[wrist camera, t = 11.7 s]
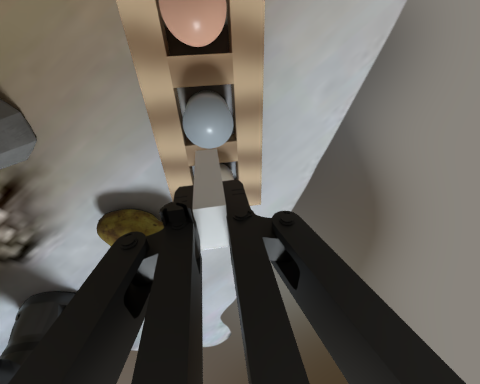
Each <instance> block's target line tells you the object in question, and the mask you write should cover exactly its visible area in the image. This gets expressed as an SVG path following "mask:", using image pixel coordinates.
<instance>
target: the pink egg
mask: <svg viewBox="0 0 480 384" xmlns="http://www.w3.org/2000/svg"><path fill="white" fill-rule="evenodd" d="M159 7H160V11H161V14H162V17H163V20H164V22H165V24H166V26H167V27H168V29H169V30H170V32H171V33H172V34H173V35H174V36H175V37H176V38H177V39H178V40H180V41H181V42H183V43H185V44H187V45H190V46H194V47H203V46H206V45H208V44H210V43H211V42H212V41H214V40H215V39H216V38H217V37H218V35H219V34H220V32H221V31H222V28H223V26H224V23H225V19H226V11H227V8H226V0H159Z"/></svg>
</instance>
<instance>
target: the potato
mask: <svg viewBox="0 0 480 384" xmlns="http://www.w3.org/2000/svg"><path fill="white" fill-rule="evenodd" d="M163 228H164V225H163V222H161V221H159V220H158V219H157V218H156V217H155V216H154V215H152V214H150V213H148V212H144V211H141V210H135V209H122V210H117V211H113V212H109V213H107V214H105V215H104V216H103V217H102V218H101V219H100V220H99V222H98V224H97V233H98V235H99V236H100V238H101V239H102V240H104V241H105V242H106V243H107V244H109V245H110V246H112V245H113V243H114V242H115V241H116V240H117V239H118V238H119V237H121V236H123V235H124V234H127V233H130V232H136V231H138V232H142V233H143V234H145V236H149V235H151V234H154V233H156V232H159V231H160V230H162V229H163Z"/></svg>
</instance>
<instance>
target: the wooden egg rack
mask: <svg viewBox="0 0 480 384" xmlns="http://www.w3.org/2000/svg"><path fill="white" fill-rule="evenodd" d="M116 2H117V6H118V10H119V13H120V17H121V20H122V24H123V27H124V31H125V34H126V38H127V41H128V45H129V49H130V52H131V56H132V59H133V63H134V66H135V70H136V73H137V77H138V80H139V84H140V87H141V91H142V95H143V98H144V102H145V105H146V109H147V112H148V116H149V119H150V123H151V126H152V130H153V134H154V137H155V141H156V144H157V148H158V151H159V155H160V158H161V162H162V165H163V169H164V173H165V176H166V180H167V183H168V187H169V190H170V194H171V197H172V201H173V200H174V194H175V191H176V190H177V189H178V188H179V187H181V186H190V185H194V176H193V171H192V166H195V152H196V151H200V150H210V149H207V148H202V147H199V146H197V145H195V144H194V143H192V142H191V141H190V140H189V139H188V138H186V135H185V132H184V129H183V119H182V114H181V109H180V104H179V99H178V93H177V88H179V87H194V86H209V85H223V84H231V88H232V105H233V122H234V134H231V136H230V138H229V139H228V140H227V141H226V142H225V143H224V144H223V145H221V146H219V147H216V148H212V149H217V152H218V158H219V163H225V162H234V161H236V173H237V179H238V180H239V181H240V182H242V183H243V186H244V189H245V193H246V196H247V199H248V202H249V205H250V206H253V205H261V169H262V117H263V65H264V12H265V0H226V3H227V20H228V37H229V53H214V54H195V55H176V56H170V52H169V47H168V42H167V37H166V32H165V26H164V21H163V17H162V14H161V11H160V7H159V0H116Z"/></svg>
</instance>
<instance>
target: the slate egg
mask: <svg viewBox="0 0 480 384" xmlns="http://www.w3.org/2000/svg"><path fill="white" fill-rule="evenodd" d="M183 129H184V132H185V134H186V136H187V137H188V139H189V140H190V141H191V142H192V143H194V144H195V145H197V146H199V147H202V148H207V149H212V148H216V147H219V146H221V145H223V144H224V143H225V142H226V141H227V140H228V139H229V138H230V136H231V134H232V131H233V118H232V115H231V112H230V110H229V108H228V106H227V103H226V102H225V100H224V99H223V98H222V97H221V96H220V95H219V94H217V93H216V92H213V91H209V90H203V91H199V92H197V93H195V94H194V95H192V96H191V98H190V99H189V100H188V102H187V105H186V109H185V112H184V116H183Z"/></svg>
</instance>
